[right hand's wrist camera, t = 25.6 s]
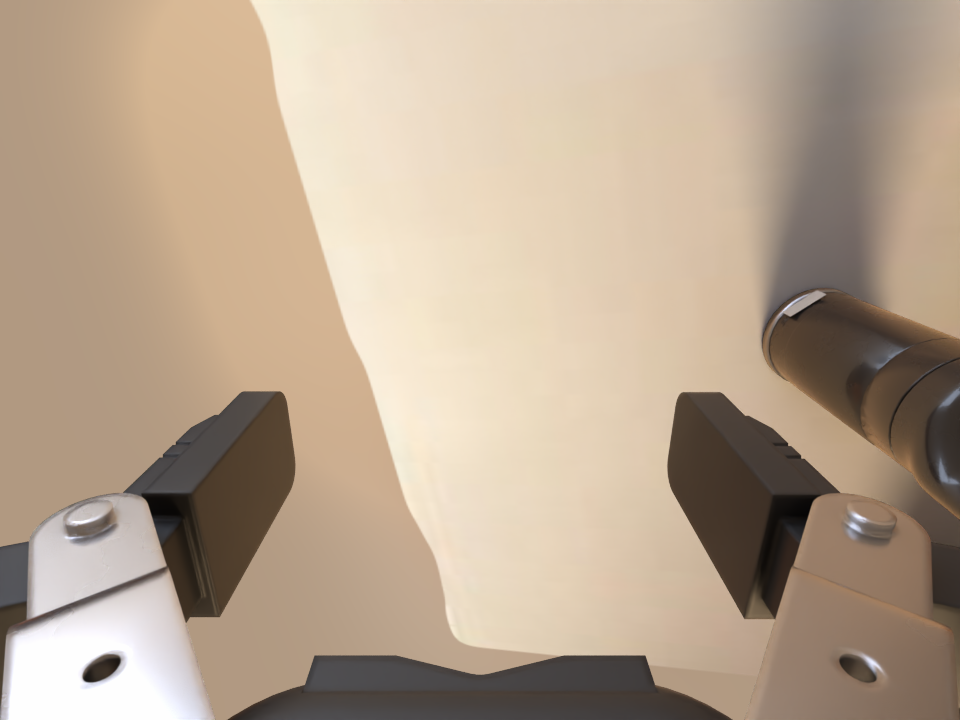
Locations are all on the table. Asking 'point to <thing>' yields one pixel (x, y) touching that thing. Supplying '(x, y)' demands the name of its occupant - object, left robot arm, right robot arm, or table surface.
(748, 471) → the right robot arm
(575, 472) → the table surface
